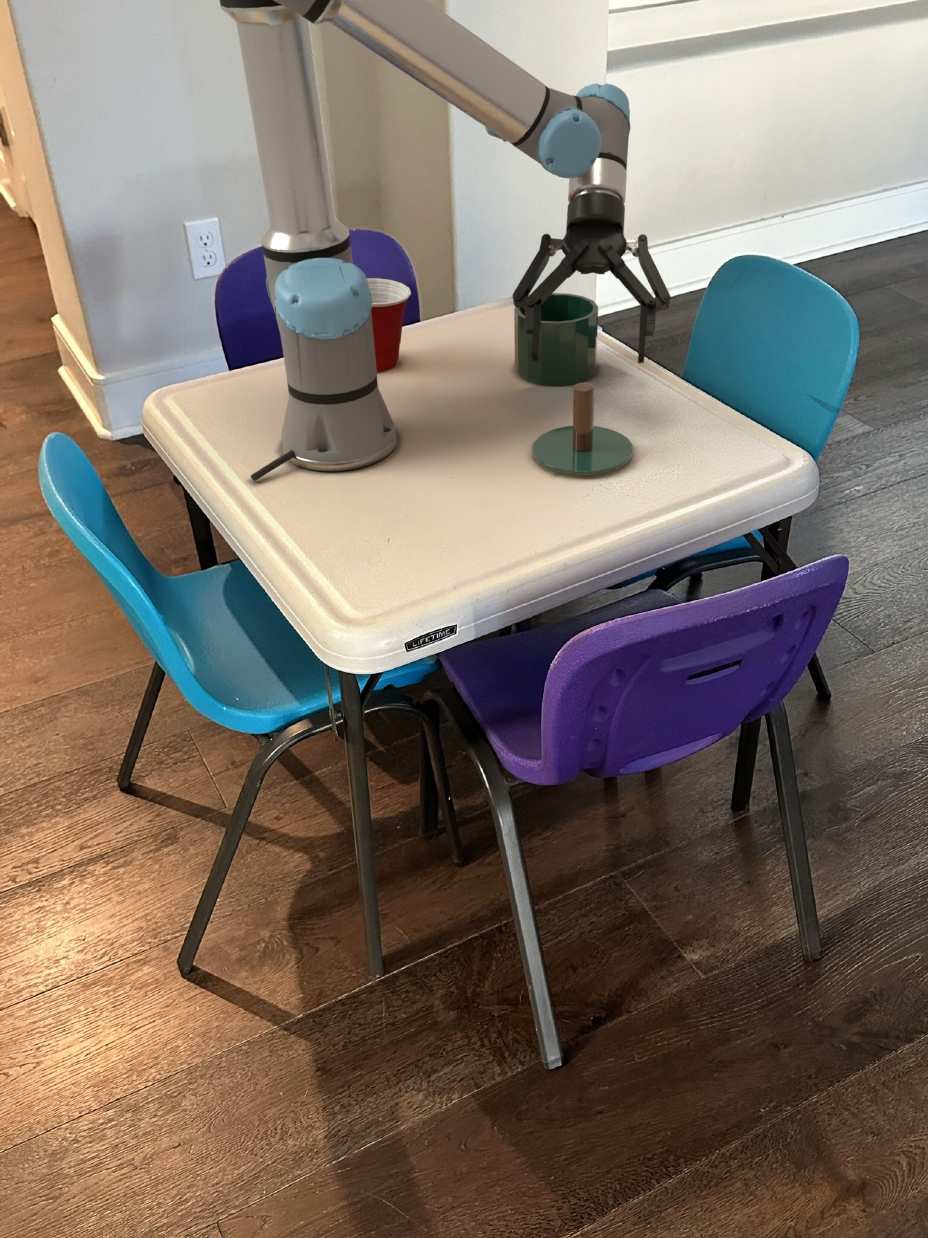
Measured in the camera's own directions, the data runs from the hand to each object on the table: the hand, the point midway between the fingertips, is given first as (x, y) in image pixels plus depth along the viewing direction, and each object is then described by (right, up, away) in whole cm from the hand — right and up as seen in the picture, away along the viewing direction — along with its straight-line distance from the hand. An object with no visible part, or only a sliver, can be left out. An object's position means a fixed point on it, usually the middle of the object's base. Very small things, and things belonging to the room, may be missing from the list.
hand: (587, 358), depth 145 cm
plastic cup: (-29, +5, +28) cm, 41 cm away
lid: (0, -12, +2) cm, 12 cm away
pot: (-2, +4, +25) cm, 25 cm away
